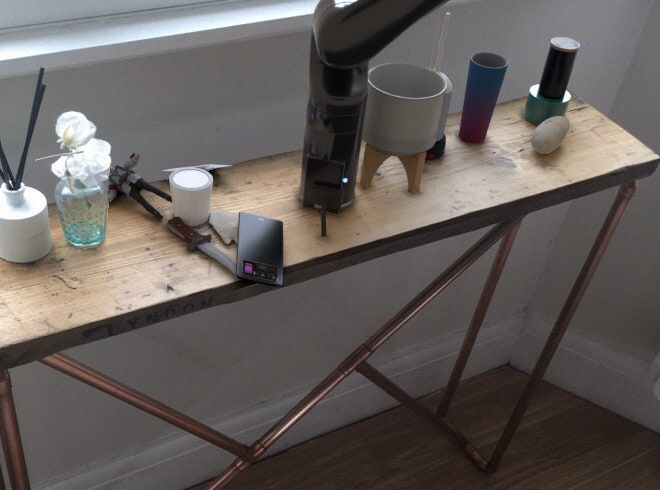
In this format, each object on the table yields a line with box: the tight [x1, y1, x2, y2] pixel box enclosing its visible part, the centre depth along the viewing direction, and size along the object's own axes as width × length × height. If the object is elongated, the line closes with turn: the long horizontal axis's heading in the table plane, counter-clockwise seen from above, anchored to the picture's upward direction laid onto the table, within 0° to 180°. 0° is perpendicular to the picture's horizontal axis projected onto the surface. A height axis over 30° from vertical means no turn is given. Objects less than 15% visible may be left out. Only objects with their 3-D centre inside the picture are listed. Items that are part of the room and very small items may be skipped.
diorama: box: [161, 163, 233, 172], centre depth 151 cm, size 8×12×2 cm
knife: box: [166, 216, 236, 276], centre depth 135 cm, size 17×1×5 cm
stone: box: [530, 116, 571, 155], centre depth 165 cm, size 6×6×12 cm
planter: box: [359, 62, 447, 196], centre depth 149 cm, size 13×13×18 cm
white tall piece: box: [425, 12, 453, 162], centre depth 154 cm, size 8×8×25 cm
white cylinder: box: [168, 167, 214, 227], centre depth 140 cm, size 7×7×7 cm
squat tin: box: [522, 83, 572, 126], centre depth 174 cm, size 8×8×5 cm
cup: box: [458, 51, 510, 144], centre depth 163 cm, size 7×7×15 cm
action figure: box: [107, 152, 172, 221], centre depth 142 cm, size 9×7×15 cm
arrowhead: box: [208, 209, 239, 245], centre depth 140 cm, size 7×2×10 cm
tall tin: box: [538, 36, 581, 99], centre depth 169 cm, size 5×5×10 cm
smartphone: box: [235, 211, 284, 288], centre depth 135 cm, size 7×15×1 cm, turn 2°
